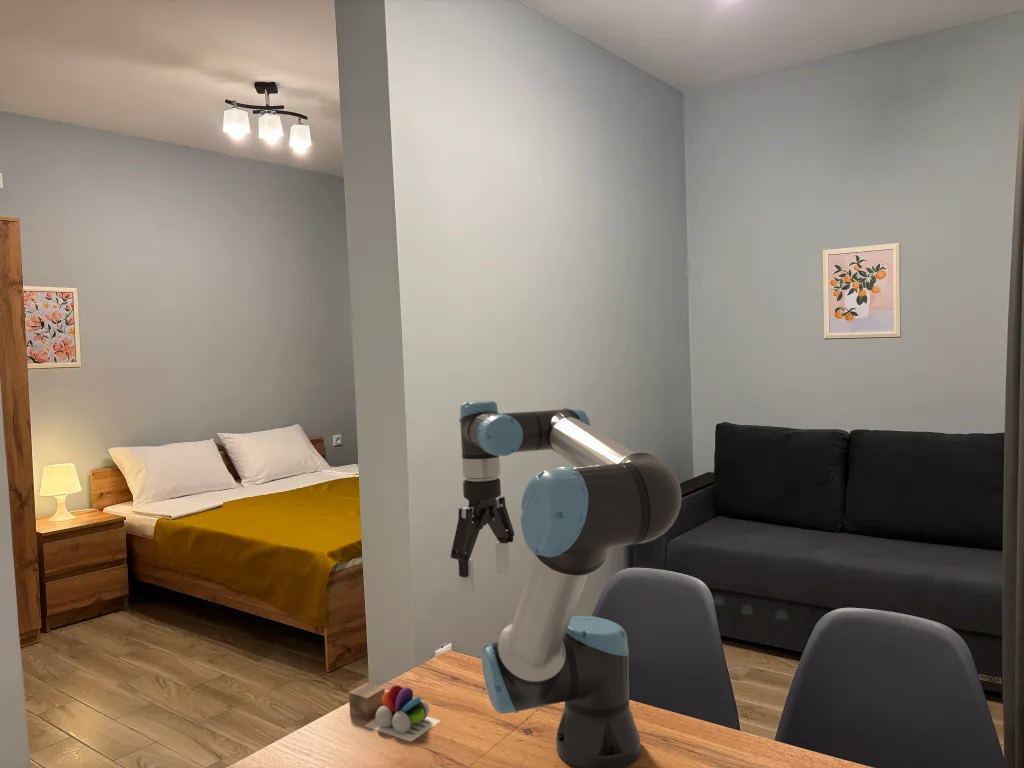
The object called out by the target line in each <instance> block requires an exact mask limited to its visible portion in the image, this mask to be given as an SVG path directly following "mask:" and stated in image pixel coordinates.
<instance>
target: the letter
mask: <svg viewBox="0 0 1024 768" xmlns="http://www.w3.org/2000/svg"><path fill="white" fill-rule="evenodd" d="M440 723H441V720H439V719H436V718H434V717H430V716H427V717H426V718H425V719H424V720H421V721H419V722H417V723H412V724H410V729H409V730H408V731H407V732H405V733H400V732H397V731H396V730H395V729H394V728H393V725H391V726H389V727H382V726H380V725H379V724H378V723H377V721H376V718H374V719H373V720H371V721H370V722H368V723H366V724H365V725H364V727H366V728H369V729H372V730H375V731H379V732H381V733H383V734H387V735H390V736H394V738H395V737H396V738H399V739H402V740H404V741H407V742H413V741H414V740H416V739H417V738H419V737H420V736H421V735H423V734H424V733H426V732H428V731H429V730H430V729H432V728H433V727H435V726H436V725H437V724H440Z"/></svg>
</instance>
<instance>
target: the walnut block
mask: <svg viewBox="0 0 1024 768" xmlns="http://www.w3.org/2000/svg"><path fill="white" fill-rule="evenodd" d="M385 689H386V688H385V687H381V686H378V685H375V684H372V683H368V682H365V683H364V684H362V685H360V686H358V687H356V688H355V689H353V690H350V691H349V692H348V699H349V702H348V703H349V715H350V716H352V717H355V718H358V719H361V720H365V721H367V722H368V721H370V720H372V719H373V718H374V719H375V718H376V712H377V710H378V709H379V708H380V707H381V706H383V705H382V696H383V695H384V694H385V693H386V692H385Z"/></svg>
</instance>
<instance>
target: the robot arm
mask: <svg viewBox="0 0 1024 768" xmlns="http://www.w3.org/2000/svg"><path fill="white" fill-rule="evenodd" d="M497 404H498V403H496V402H495V401H494V400H471V401H464V402H463V403H462V404H461V405H460V409H459V411H460V413H459V414H460V415H459V416H460V417H459V423H460V424H459V425H460V440H461V441H460V444H461V458H462V459H461V461H462V463H461V464H462V477H463V478H464V479H463V481H462V490H463V492H462V493H463V498H464V499H466V500H467V501H468V506H467V507H464V506H463V507H461V506H460V507H459V508H458V520H457V524H456V529H455V532H454V533H455V534H454V539H453V543H452V548H451V552H450V559H452V560H453V559H454V560H457V561H458V575H459V592H460V593H462V594H463V593H465V594H474V593H475V582H474V581H475V580H474V559H473V558H471V556H472V554H473V551H474V548H475V546H476V545H475V544H476V542H477V540H478V536H479V533H480V531H481V530H483V528H484V526H486V525H488V527H489V528H490V530H491V532H492V533H493V535H494V537H495V538H496V539H497V541H495V545H494V546H495V562H496V564H495V566H496V567H495V568H496V570H495V571H496V574H497V575H506V576H508V575H510V556H509V555H510V551H509V543H514V537H515V531H514V528H513V524H512V522H511V521H512V520H511V519H510V515H509V513H508V509H507V506H506V497H505V496H501V495H502V491H501V489H502V487H501V479H500V477H499V476H500V475H501V464H500V457H501V456H502V457H504V456H509V455H512V454H514V453H521V452H522V453H523V452H535V451H549V450H550V451H551V450H552V451H553V452H555V453H556V454H558V455H559V456H561V457H562V458H563V459H564V460H566V461H567V462H569V463H570V464H572V465H573V466H574V467H571V466H560V467H557V468H554V469H550V470H549V469H548V470H544V471H540V472H538V473H536V474H535V475H534V476H532V478H531V479H530V480H529V481H528V483H527V485H526V487H525V489H524V490H523V494H522V499H521V504H520V506H521V507H520V509H521V510H522V514H520V524H521V531H522V535H523V539H524V542H525V544H526V546H527V547H528V549H529V550H530V551H531V553H533V557H532V560H531V563H530V566H529V570H528V573H527V577H526V580H525V584H524V586H523V590H522V593H521V597H520V600H519V603H518V606H517V609H516V612H515V616H514V618H513V619H514V620H513V621H512V622H510V623H509V624H508V625H507V626H506V627H504V629H503V630H502V631H501V633H500V634H499V638H498V641H497V642H496V641H495V642H494V641H490V642H489V643H485V644H484V645H483V646H482V648H481V654H480V655H481V657H480V658H481V667H482V673H483V678H484V684H485V688H486V691H487V695H488V698H489V701H490V703H491V705H492V707H493V709H494V710H495V711H496V712H497V713H499V714H512V713H514V714H518V713H519V712H522V711H527V710H532V709H536V708H541V707H547V706H551V705H555V704H560V703H564V708H563V709H562V710H563V711H562V713H561V717H560V720H559V724H558V727H557V731H556V737H555V745H556V746H555V749H556V752H557V755H558V756H559V758H560V759H562V761H563V762H565V763H567V764H569V765H571V766H573V767H575V768H625V767H628V766H629V765H631V764H633V763H634V762H635V761H636V760H637V759H638V758H639V756H640V754H641V737H640V733H639V731H638V728H637V725H636V721H635V719H634V715H633V713H632V711H631V708H630V678H629V677H630V676H629V655H630V650H629V645H628V634H627V633H626V631H625V629H624V628H623V627H622V626H621V625H620V624H619V623H617V622H614V621H612V620H610V619H605V618H602V617H597V616H591V615H590V616H589V615H575V616H574V613H575V611H576V607H577V604H578V602H579V599H580V597H581V595H582V592H583V590H584V586H585V584H586V581H587V579H588V576H589V575H591V574H593V573H595V572H597V571H598V570H599V569H601V567H602V566H603V565H604V563H605V561H606V559H607V557H608V554H609V551H610V549H612V548H616V547H623V546H630V545H631V546H633V545H639V544H640V545H641V544H645V543H648V542H651V541H654V540H656V539H657V538H659V537H660V536H661V537H662V535H664V534H666V533H667V531H668V530H669V529H670V528H672V526H673V524H674V523H675V521H676V519H677V518H678V516H679V513H680V509H681V506H682V500H683V499H682V497H683V496H682V489H681V485H680V481H679V479H678V478H677V475H676V474H675V472H674V471H673V470H672V469H671V467H670V466H669V465H667V464H666V463H665V462H664V461H662V460H660V459H659V458H657V457H656V456H654V455H652V454H650V453H648V452H644V451H636V452H634V451H633V450H631V449H629V448H627V447H626V446H624V445H623V444H621V443H619V442H617V441H616V440H614V439H612V438H610V437H609V436H607V435H605V434H604V433H602V432H600V431H598V430H597V429H595V428H593V427H591V422H590V419H589V417H588V416H587V413H586V412H585V411H584V410H583V409H580V408H568V407H567V408H566V407H565V408H562V409H561V408H560V409H551V410H550V409H549V410H538V411H519V412H506V413H504V412H503V413H499V412H498V411H499V410H498V405H497Z"/></svg>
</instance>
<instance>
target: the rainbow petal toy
mask: <svg viewBox="0 0 1024 768" xmlns="http://www.w3.org/2000/svg"><path fill="white" fill-rule="evenodd" d="M382 705H383V706H381V707H380V708H379V709H378V710H377V712H376V716H375V719H376V721H377V723H378V724H379V725H380V726H382V727H389V726H391V725H393V728H394V729H395V730H396V731H397V732H400V733H405V732H407V731H408V730H409V729H410V724H412V723H417V722H419V721H421V720H424V719H425V718H426V717H429V712H430V707H429V705H428V703H427V701H426V700H424V699H422V698H421V697H420V696H416V697H414V692H413V690H412V688H410V687H408V686H405V687H404V688H403V687H402V686H401V685H397V684H396V685H393V686H391V687H390V688H389V690H388V691H387V692H385V694H384V695H383V696H382Z"/></svg>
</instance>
